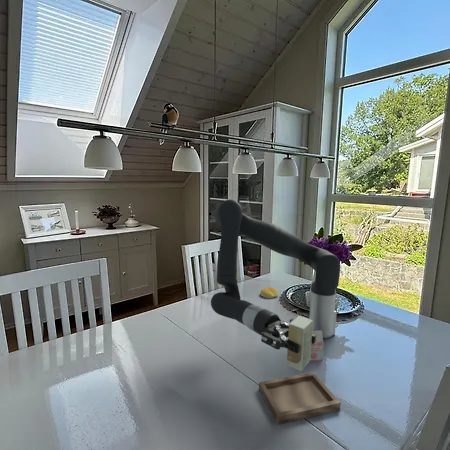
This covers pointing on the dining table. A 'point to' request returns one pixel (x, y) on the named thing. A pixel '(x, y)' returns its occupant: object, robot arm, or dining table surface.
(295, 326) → the skincare box
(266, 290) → the bread roll
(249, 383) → the dining table surface
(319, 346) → the white boxy package
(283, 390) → the walnut tray
